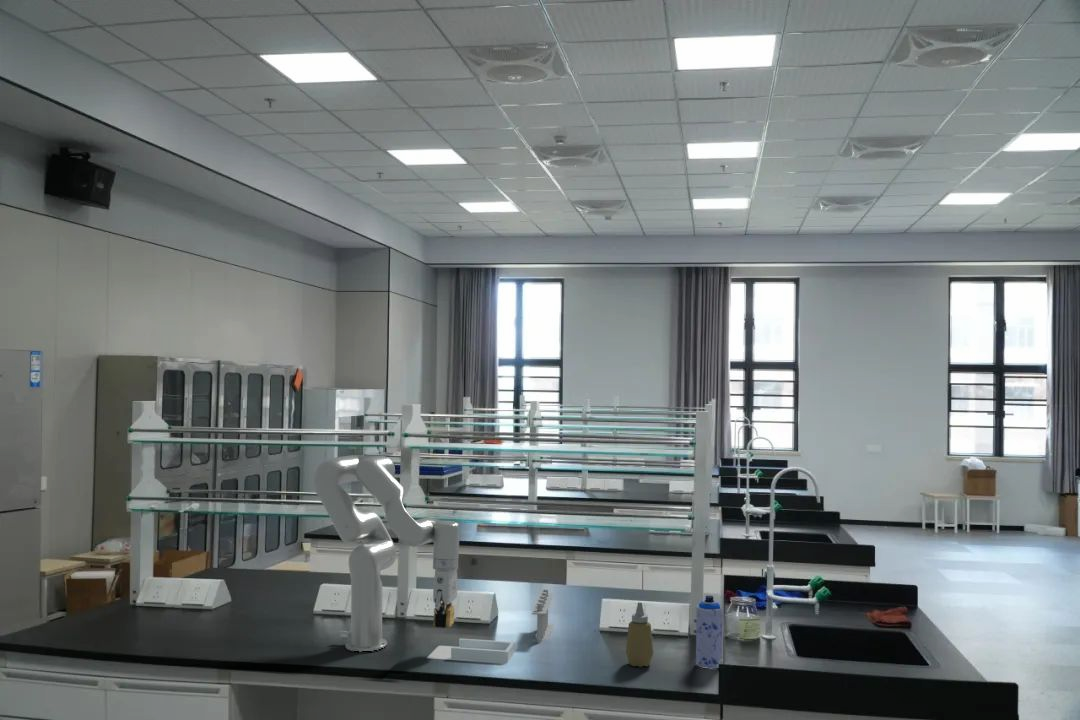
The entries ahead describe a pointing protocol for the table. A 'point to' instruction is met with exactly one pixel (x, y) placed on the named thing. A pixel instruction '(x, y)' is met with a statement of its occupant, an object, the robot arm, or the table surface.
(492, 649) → the channel
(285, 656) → the table surface
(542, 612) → the test tube rack
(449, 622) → the block
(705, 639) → the aerosol can
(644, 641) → the squeeze bottle
